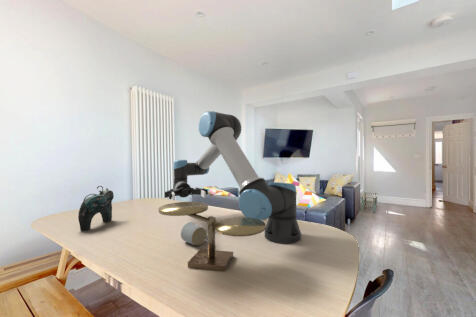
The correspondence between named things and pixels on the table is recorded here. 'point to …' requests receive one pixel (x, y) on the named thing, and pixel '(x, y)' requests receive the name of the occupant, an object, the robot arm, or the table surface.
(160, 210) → the balance
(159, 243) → the table surface
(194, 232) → the ceramic mug
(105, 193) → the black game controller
